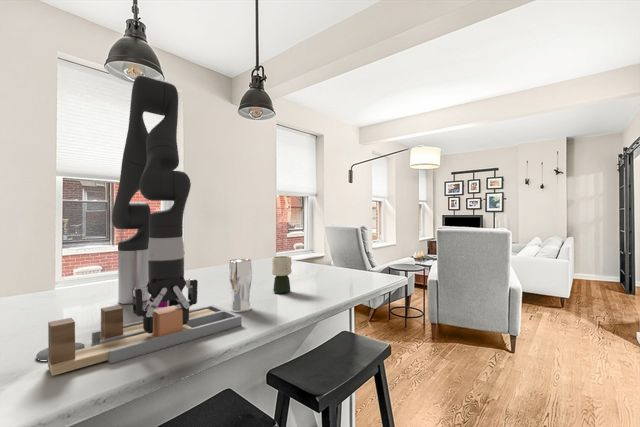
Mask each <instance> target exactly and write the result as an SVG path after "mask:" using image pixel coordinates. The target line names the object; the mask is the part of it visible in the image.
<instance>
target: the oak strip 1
mask: <svg viewBox="0 0 640 427" xmlns="http://www.w3.org/2000/svg"><path fill="white" fill-rule="evenodd" d="M47 324H48V325H47V327H48V328H47V329H48V330H47V331H48V332H47V333H48V335H47V338H48V342H47V343H48V347H47V348H48V349H49V357H48V362H47V367H48V369H49V371H50V374H51V376H52V377H53V376H57V375H60V374H63V373H67V372H71V371H74V370H77V369H81V368H84V367H88V366H91V365H95V364H99V363H103V362H107V360H109V350H111V349H115V348H119V347H123V346H126V345H130V344H134V343H137V342H141V341H145V340H149V339H152V338H156V337H159V336H157V335H156V334H154V333H151V334H148V333H143V334H139V335H135V336H131V337H127V338H123V339H119V340H115V341H111V342H107V343H103V344H99V345H95V346H94V345H92V346H87V347H85V348H83V349H80V350H76V351H75V343H76V322H75V320H74V319H73V318H72V317H67V318H63V319H57V320H52V321H48V322H47ZM190 328H191V327H190V326H188V325H186V324H185V325H183V330H186V329H190Z"/></svg>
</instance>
